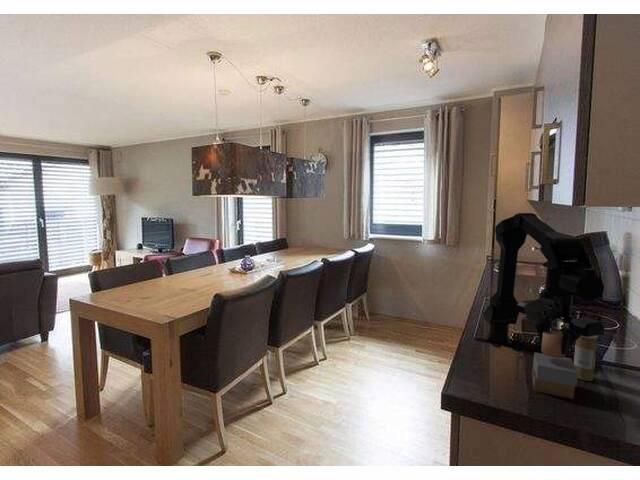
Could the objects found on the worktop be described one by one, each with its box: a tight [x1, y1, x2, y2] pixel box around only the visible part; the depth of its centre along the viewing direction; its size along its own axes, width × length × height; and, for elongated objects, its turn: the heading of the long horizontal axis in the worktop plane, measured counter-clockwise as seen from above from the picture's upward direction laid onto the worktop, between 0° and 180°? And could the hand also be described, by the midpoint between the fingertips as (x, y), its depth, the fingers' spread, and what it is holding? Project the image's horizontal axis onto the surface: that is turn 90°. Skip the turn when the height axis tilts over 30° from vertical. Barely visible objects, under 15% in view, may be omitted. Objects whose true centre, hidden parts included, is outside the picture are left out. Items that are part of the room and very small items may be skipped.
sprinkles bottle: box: [573, 335, 599, 382], centre depth 92 cm, size 5×5×13 cm
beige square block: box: [531, 365, 576, 400], centre depth 88 cm, size 8×8×4 cm
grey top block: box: [532, 351, 578, 388], centre depth 88 cm, size 8×8×4 cm
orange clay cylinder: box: [540, 330, 566, 358], centre depth 88 cm, size 5×5×5 cm
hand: (553, 349), depth 88 cm, fingers closed on orange clay cylinder, 5 cm apart
